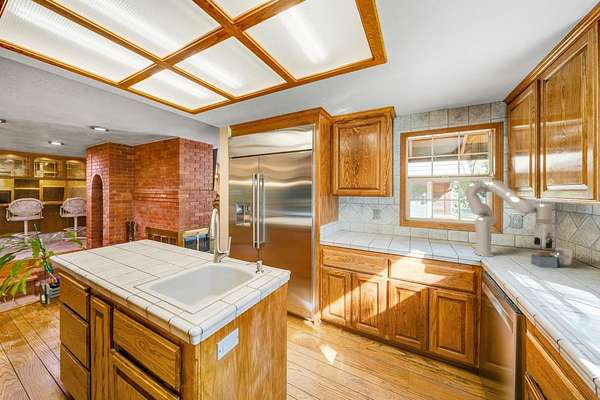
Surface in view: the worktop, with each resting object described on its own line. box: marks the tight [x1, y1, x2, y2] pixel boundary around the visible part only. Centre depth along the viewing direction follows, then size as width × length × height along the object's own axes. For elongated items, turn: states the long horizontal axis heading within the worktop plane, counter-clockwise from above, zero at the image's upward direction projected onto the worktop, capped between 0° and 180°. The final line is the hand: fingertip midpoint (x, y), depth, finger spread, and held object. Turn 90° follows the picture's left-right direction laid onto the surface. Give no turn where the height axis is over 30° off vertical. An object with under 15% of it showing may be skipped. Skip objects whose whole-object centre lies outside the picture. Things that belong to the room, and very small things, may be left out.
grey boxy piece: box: [530, 250, 570, 269], centre depth 152 cm, size 9×18×11 cm, turn 76°
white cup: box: [554, 247, 573, 266], centre depth 157 cm, size 8×8×10 cm
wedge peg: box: [536, 250, 551, 257], centre depth 153 cm, size 3×5×10 cm, turn 76°
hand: (542, 246), depth 153 cm, fingers open, 9 cm apart
